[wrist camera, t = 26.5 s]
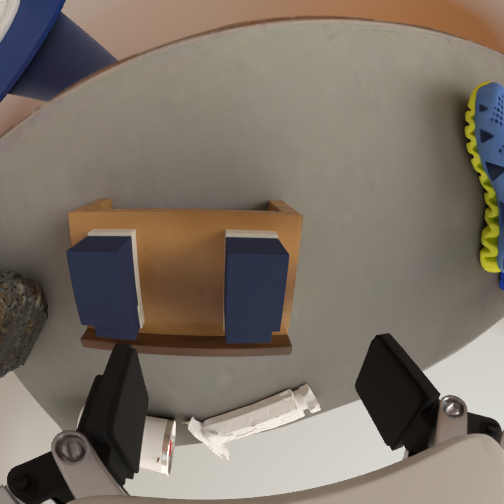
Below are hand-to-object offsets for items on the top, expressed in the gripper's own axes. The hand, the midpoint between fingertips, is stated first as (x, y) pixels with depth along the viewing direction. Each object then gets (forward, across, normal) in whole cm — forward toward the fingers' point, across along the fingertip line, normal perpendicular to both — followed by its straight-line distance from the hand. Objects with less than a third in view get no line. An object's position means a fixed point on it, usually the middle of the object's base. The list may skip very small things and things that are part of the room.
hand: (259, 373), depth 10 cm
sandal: (+15, -32, -10) cm, 37 cm away
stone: (+12, +31, +13) cm, 36 cm away
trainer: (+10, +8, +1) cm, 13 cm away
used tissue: (+15, -4, +25) cm, 29 cm away
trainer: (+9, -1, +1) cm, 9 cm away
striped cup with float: (+12, +19, +24) cm, 33 cm away
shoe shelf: (+16, +4, +1) cm, 16 cm away
